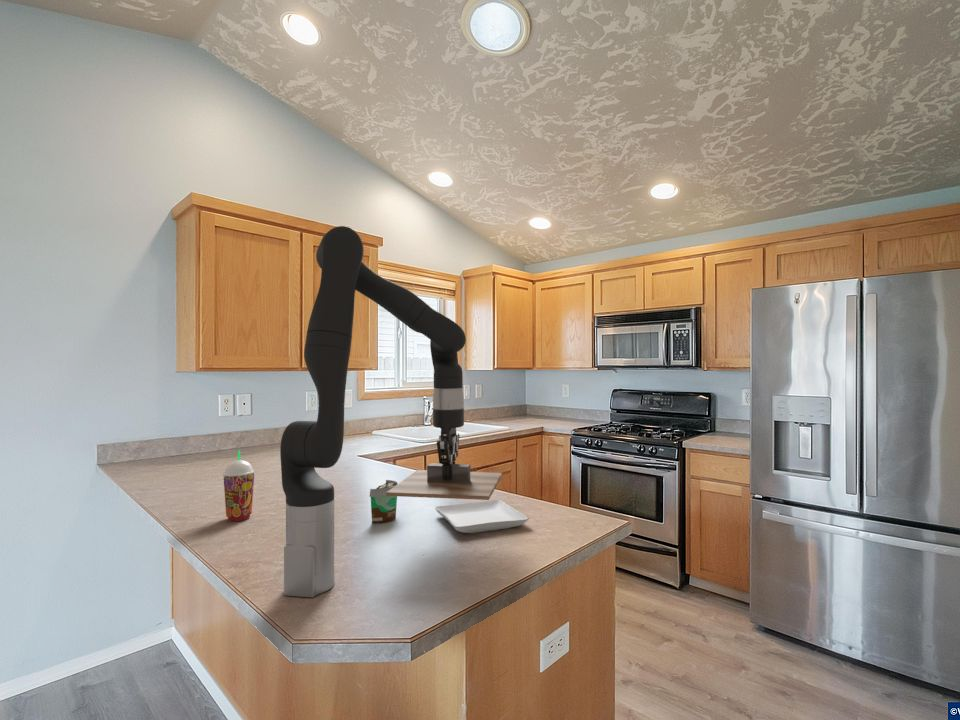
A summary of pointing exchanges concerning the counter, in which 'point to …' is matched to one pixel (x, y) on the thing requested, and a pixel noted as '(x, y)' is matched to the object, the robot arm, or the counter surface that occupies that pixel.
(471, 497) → the cover board
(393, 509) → the food container
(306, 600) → the counter surface
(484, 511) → the salad plate
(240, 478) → the smoothie
